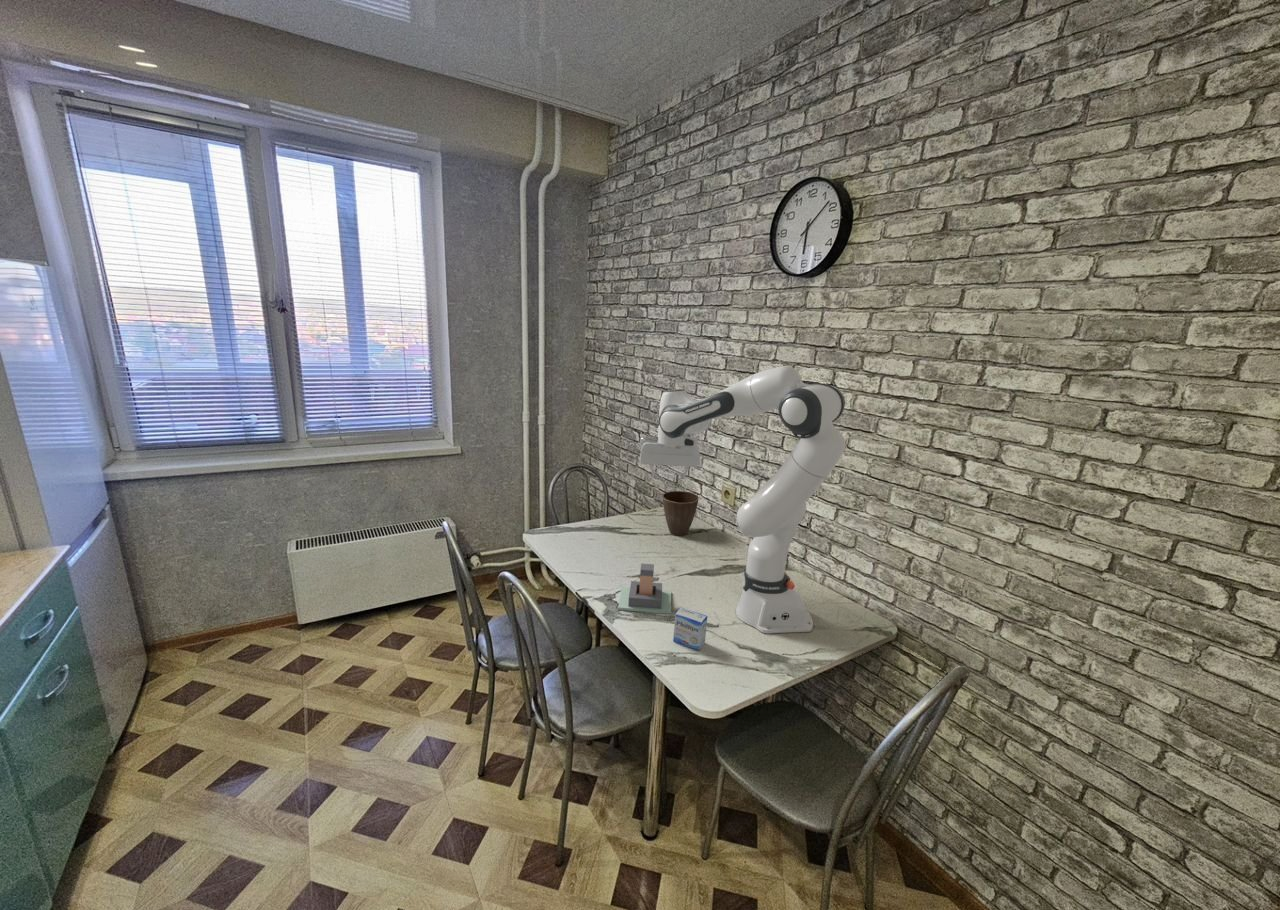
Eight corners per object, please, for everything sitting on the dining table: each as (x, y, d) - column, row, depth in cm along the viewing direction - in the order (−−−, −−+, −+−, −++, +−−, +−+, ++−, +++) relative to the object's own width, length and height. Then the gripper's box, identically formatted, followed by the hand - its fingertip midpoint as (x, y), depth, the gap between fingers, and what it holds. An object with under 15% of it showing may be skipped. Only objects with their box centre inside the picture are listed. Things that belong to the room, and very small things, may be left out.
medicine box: (672, 641, 134) (674, 614, 132) (679, 633, 138) (681, 606, 136) (699, 651, 131) (702, 623, 128) (705, 642, 135) (707, 614, 132)
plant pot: (656, 536, 201) (658, 499, 197) (665, 523, 215) (667, 488, 211) (692, 542, 197) (695, 505, 193) (698, 528, 211) (701, 493, 207)
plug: (652, 595, 155) (654, 564, 152) (651, 602, 151) (653, 570, 148) (639, 594, 155) (641, 563, 152) (638, 601, 151) (640, 569, 148)
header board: (670, 592, 159) (671, 582, 158) (670, 613, 147) (671, 602, 146) (621, 589, 159) (622, 578, 158) (618, 609, 148) (618, 598, 147)
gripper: (639, 438, 159) (637, 478, 163) (702, 441, 159) (698, 482, 162) (640, 434, 166) (638, 473, 169) (700, 437, 165) (697, 476, 168)
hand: (668, 477), depth 166 cm, fingers open, 8 cm apart
